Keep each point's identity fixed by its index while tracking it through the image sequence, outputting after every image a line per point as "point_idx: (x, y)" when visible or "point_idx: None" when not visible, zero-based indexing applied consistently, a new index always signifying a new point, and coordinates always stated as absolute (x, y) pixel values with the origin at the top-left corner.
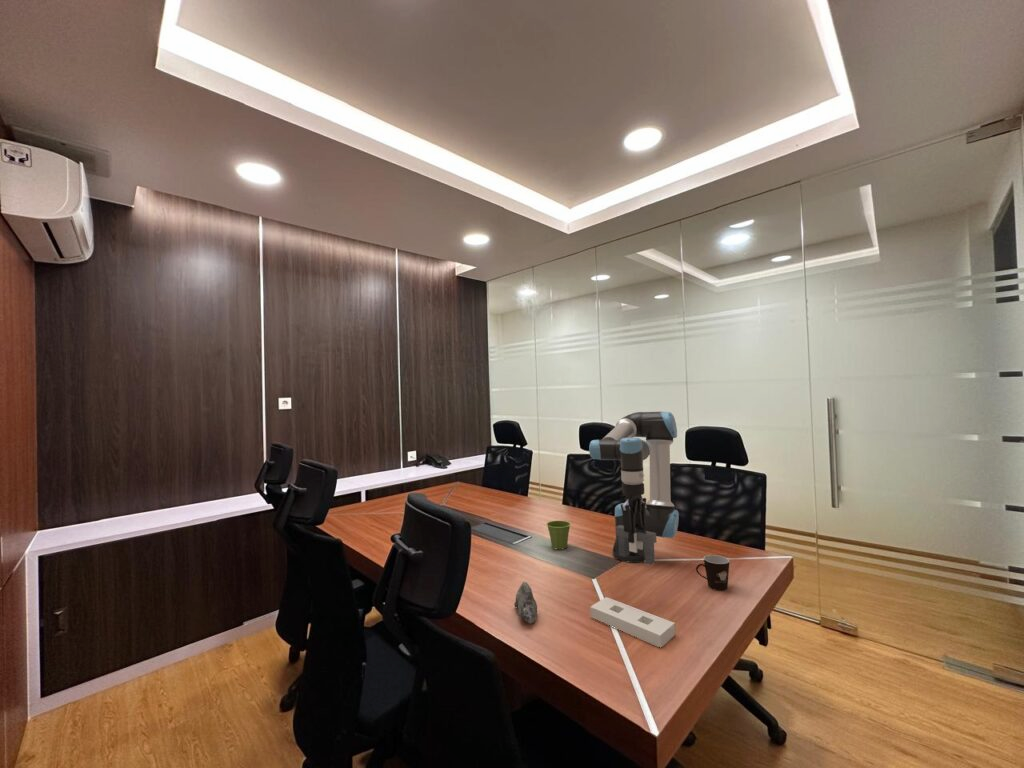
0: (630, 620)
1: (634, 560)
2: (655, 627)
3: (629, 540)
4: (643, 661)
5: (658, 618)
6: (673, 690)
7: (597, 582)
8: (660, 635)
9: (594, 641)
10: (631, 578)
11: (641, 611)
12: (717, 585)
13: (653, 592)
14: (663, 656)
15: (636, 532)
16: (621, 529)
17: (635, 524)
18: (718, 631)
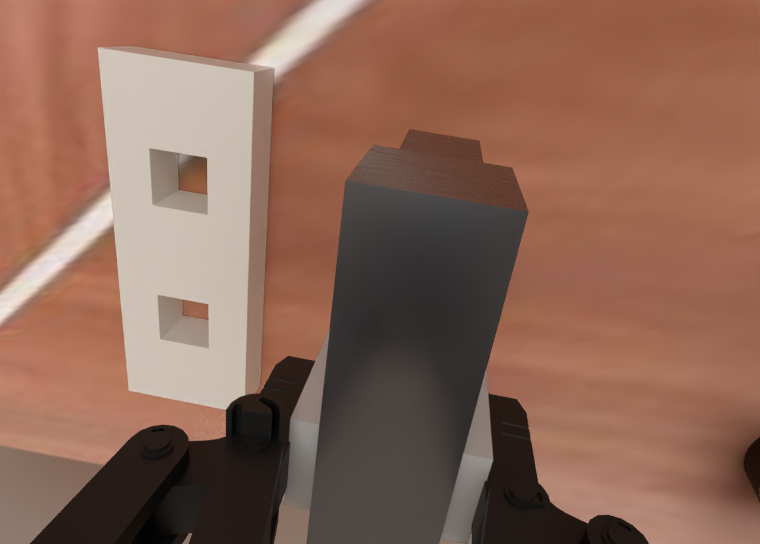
0: (137, 273)
1: None
2: (164, 366)
3: (274, 378)
4: (52, 338)
5: (233, 359)
6: (15, 426)
7: None
8: (131, 390)
9: (5, 156)
10: (747, 28)
11: (238, 288)
12: (753, 481)
13: (583, 221)
14: (121, 379)
15: (311, 519)
16: (338, 298)
17: (485, 536)
18: None
